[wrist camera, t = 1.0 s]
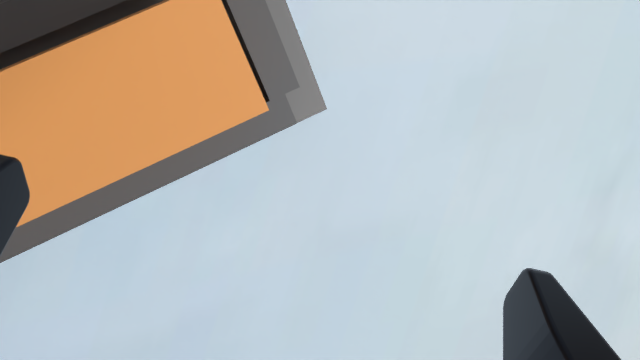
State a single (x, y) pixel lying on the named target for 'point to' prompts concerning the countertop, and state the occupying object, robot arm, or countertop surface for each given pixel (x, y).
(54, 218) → the panel
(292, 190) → the countertop surface
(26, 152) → the push button
